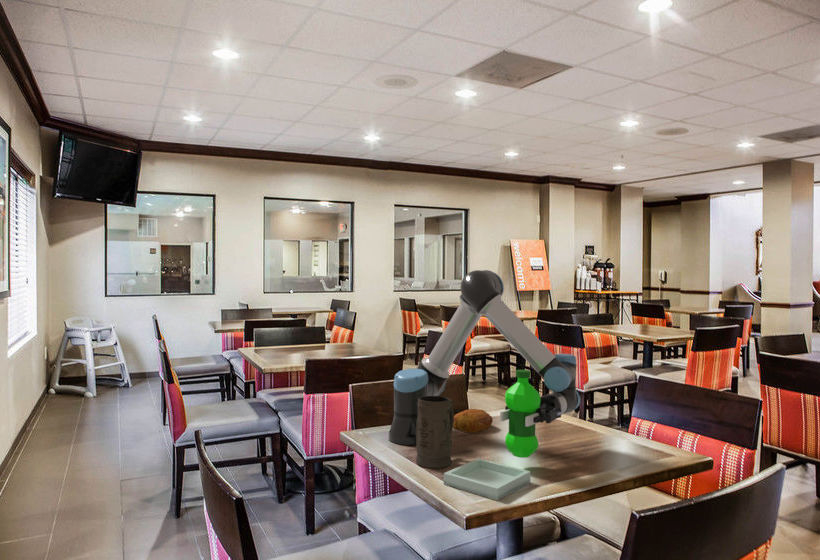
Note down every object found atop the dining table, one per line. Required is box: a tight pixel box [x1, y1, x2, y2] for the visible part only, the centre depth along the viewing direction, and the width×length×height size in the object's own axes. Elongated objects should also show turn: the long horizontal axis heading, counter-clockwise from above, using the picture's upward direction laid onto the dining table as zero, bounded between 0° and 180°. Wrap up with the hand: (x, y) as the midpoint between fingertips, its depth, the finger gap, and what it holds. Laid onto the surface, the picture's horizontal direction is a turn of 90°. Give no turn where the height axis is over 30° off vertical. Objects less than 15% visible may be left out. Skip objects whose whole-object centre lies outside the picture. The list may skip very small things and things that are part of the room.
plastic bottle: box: [504, 369, 541, 459], centre depth 171 cm, size 10×10×25 cm
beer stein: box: [415, 395, 455, 469], centre depth 176 cm, size 15×11×20 cm
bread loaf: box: [453, 408, 493, 434], centre depth 214 cm, size 14×16×8 cm
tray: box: [443, 457, 531, 501], centre depth 157 cm, size 17×17×3 cm
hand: (513, 419), depth 167 cm, fingers closed on plastic bottle, 8 cm apart
